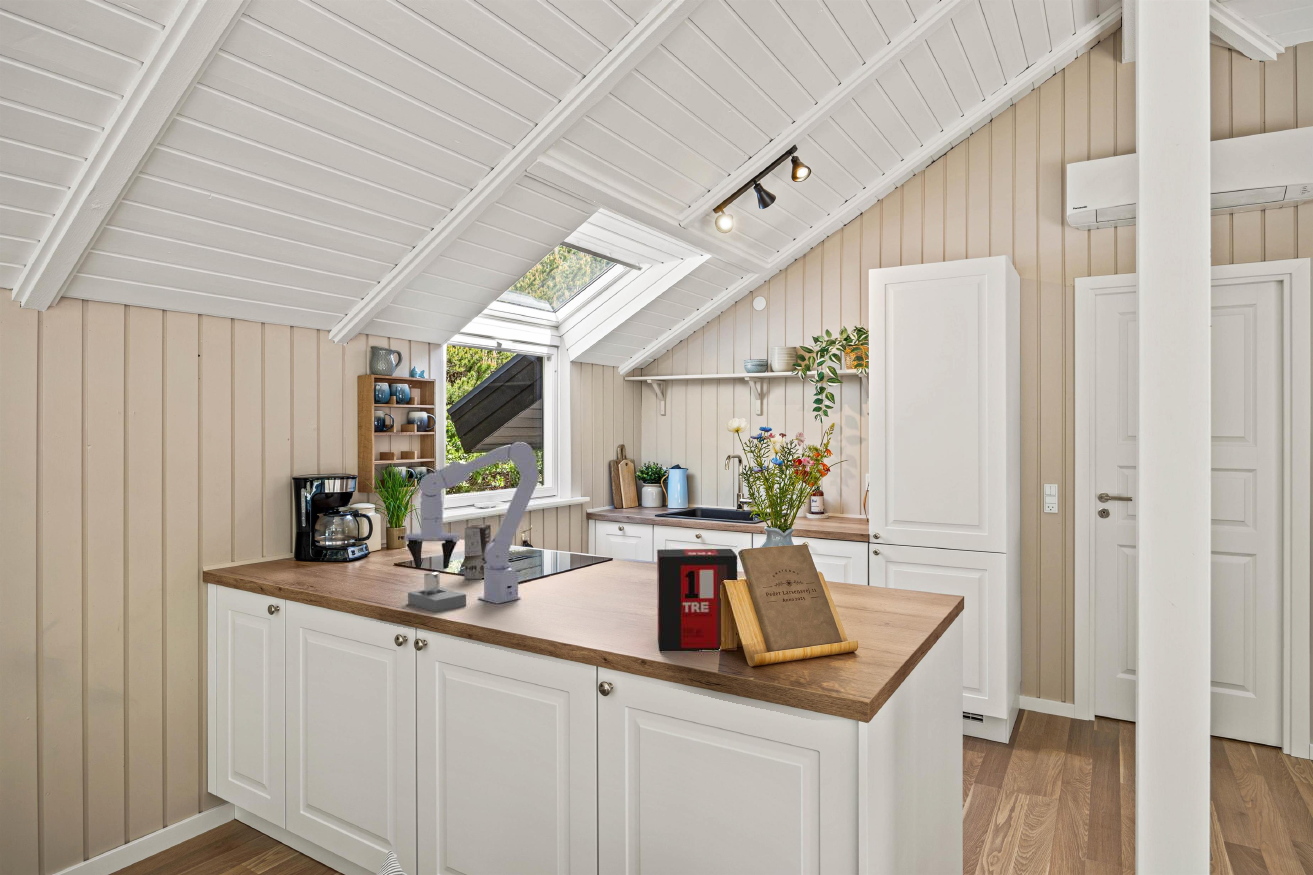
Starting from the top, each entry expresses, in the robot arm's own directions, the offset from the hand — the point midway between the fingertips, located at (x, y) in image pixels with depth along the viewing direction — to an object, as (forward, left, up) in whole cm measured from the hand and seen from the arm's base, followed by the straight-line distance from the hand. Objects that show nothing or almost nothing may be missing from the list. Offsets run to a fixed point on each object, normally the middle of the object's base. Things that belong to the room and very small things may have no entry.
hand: (432, 568), depth 190 cm
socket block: (-3, 0, -9) cm, 10 cm away
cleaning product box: (-78, -17, -10) cm, 80 cm away
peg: (0, 0, -9) cm, 9 cm away
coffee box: (+20, -28, -10) cm, 36 cm away
